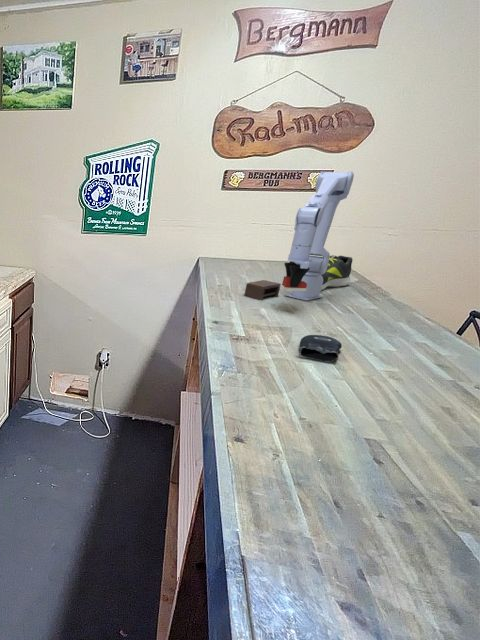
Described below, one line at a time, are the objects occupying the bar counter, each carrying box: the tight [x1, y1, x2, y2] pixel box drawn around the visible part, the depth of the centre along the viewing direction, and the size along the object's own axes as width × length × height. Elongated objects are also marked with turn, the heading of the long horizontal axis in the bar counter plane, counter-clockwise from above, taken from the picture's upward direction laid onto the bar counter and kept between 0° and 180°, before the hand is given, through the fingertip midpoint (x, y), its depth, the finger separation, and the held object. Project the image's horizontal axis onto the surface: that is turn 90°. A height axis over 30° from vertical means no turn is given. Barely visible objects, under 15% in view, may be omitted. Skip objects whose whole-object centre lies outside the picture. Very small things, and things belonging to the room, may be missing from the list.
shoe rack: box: [244, 279, 282, 301], centre depth 174 cm, size 10×7×5 cm
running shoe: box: [321, 254, 353, 291], centre depth 185 cm, size 11×30×13 cm, turn 115°
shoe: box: [280, 275, 307, 292], centre depth 156 cm, size 7×4×4 cm, turn 75°
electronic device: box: [297, 334, 343, 363], centre depth 123 cm, size 9×6×15 cm
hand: (291, 285), depth 156 cm, fingers closed on shoe, 3 cm apart
